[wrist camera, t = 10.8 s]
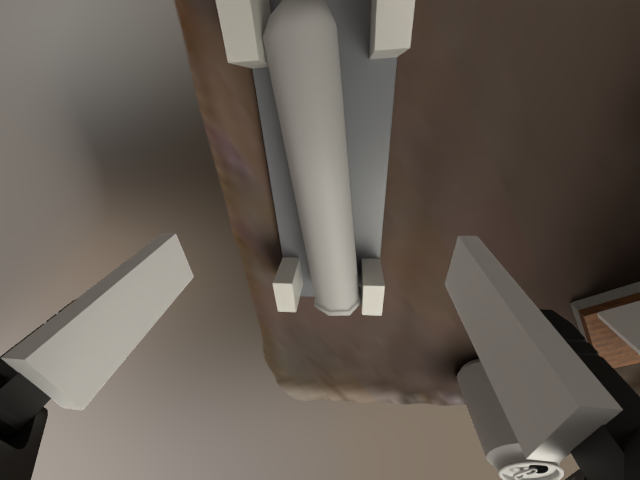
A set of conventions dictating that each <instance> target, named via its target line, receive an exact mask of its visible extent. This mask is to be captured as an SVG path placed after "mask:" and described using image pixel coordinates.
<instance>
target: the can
mask: <svg viewBox="0 0 640 480" xmlns="http://www.w3.org/2000/svg"><path fill="white" fill-rule="evenodd" d="M457 381H458V384H459V387H460V389H461V392H462V395H463V397H464V400H465V403H466V405H467V408H468V410H469V413H470V416H471V419H472V421H473V424H474V427H475V429H476V432H477V435H478V437H479V440H480V443H481V445H482V448H483V451H484V453H485V456H486V459H487V461H488V462H489V463H491V464H492V465H493V466H494V467H495V468H497V469H498V475H499V477H501V478H502V479H503V480H559V479H561V478H562V477H563V476H564V471H563V469H562V468H561V467H560V466H559V463H560V462H550V461H541V460H532V459H526V457H525V455H524V453H523V451H522V449H521V447H520V444H519V442H518V440H517V438H516V436H515V434H514V432H513V430H512V427H511V425H510V423H509V421H508V419H507V417H506V415H505V412H504V410H503V408H502V406H501V404H500V402H499V400H498V397H497V395H496V393H495V391H494V389H493V387H492V385H491V383H490V380H489V378H488V376H487V374H486V372H485V370H484V368H483V365H482V363H481V361H480V359H477V360H473V361H470V362H468V363H466V364H465V365H464V366H463V367H462V368H461V370H460V371H459V372H458V375H457Z"/></svg>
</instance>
